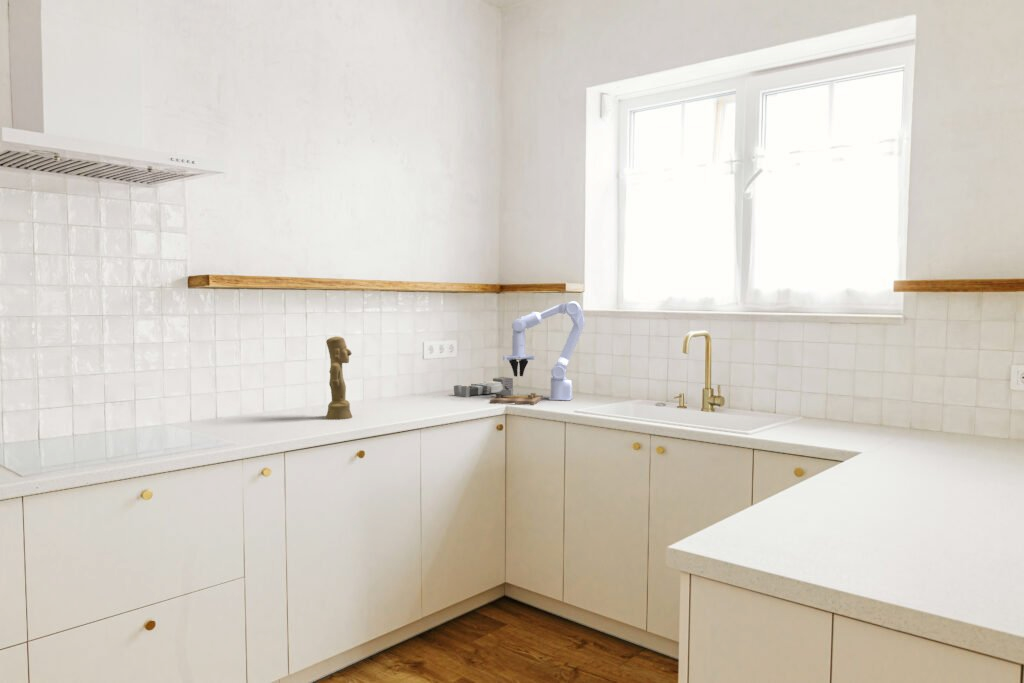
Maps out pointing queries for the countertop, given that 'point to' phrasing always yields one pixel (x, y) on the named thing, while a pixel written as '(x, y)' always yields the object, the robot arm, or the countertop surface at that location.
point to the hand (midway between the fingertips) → (518, 376)
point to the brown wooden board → (517, 399)
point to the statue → (338, 379)
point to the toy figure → (484, 387)
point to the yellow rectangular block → (516, 396)
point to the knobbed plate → (507, 391)
